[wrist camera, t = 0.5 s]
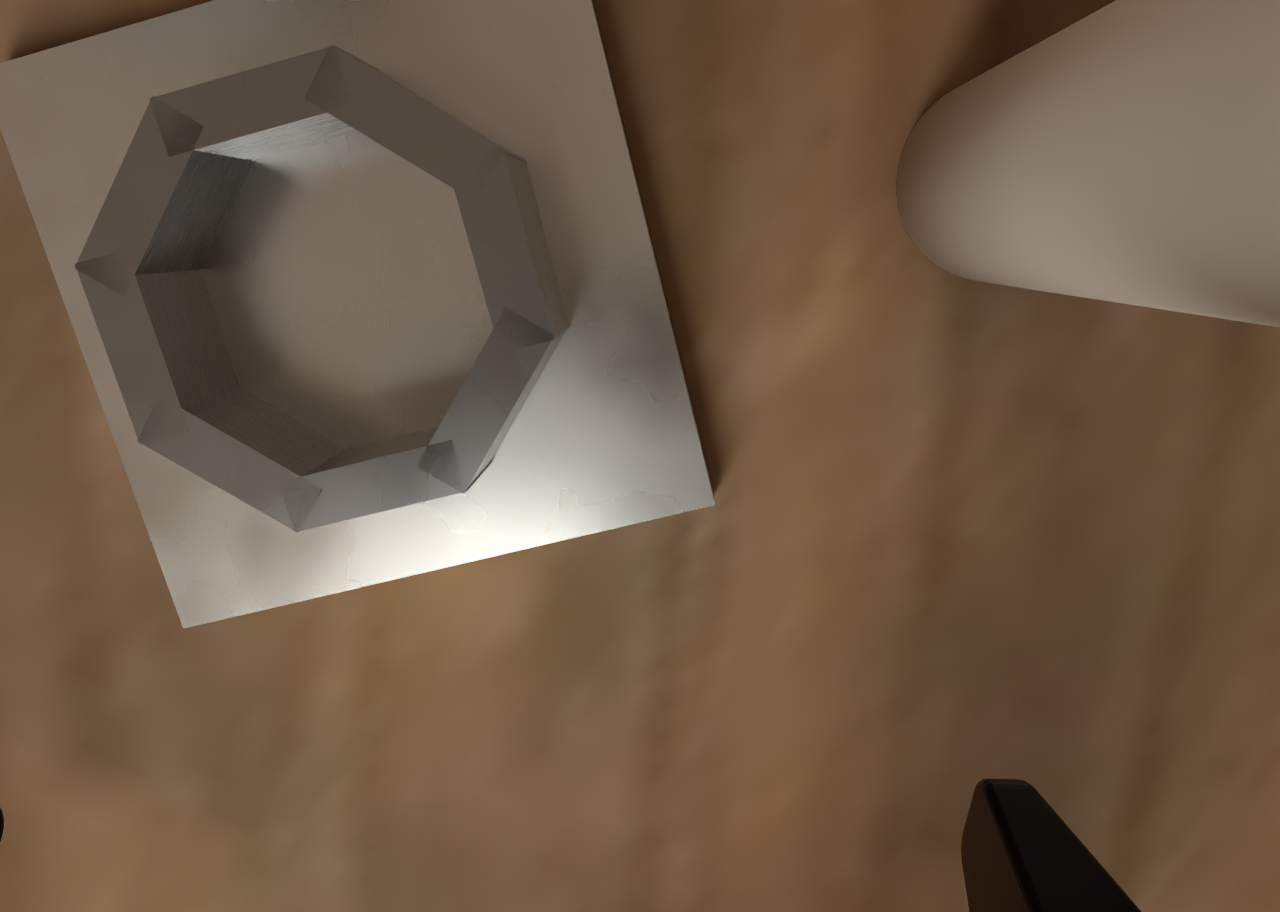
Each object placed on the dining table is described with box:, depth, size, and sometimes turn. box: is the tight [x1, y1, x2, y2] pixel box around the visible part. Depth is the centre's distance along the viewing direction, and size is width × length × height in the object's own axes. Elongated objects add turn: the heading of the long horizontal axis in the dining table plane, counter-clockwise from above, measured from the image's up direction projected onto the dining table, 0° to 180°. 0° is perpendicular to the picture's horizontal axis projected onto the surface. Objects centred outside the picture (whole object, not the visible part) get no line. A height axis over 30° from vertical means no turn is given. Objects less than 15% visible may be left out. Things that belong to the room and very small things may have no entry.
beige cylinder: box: [896, 0, 1280, 327], centre depth 14 cm, size 4×4×13 cm
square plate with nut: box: [0, 0, 715, 628], centre depth 20 cm, size 12×12×3 cm
